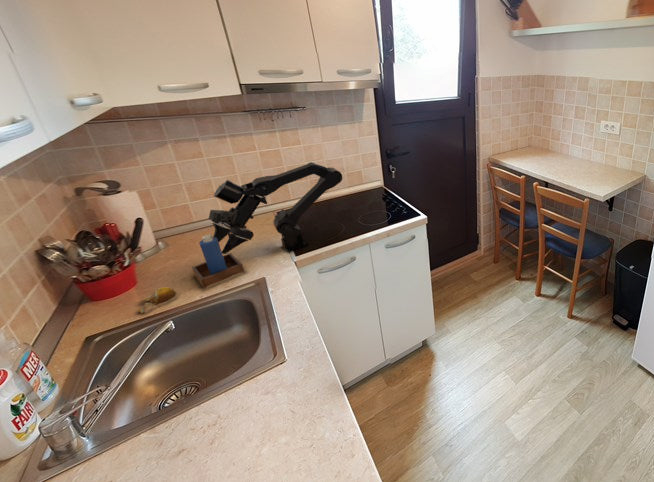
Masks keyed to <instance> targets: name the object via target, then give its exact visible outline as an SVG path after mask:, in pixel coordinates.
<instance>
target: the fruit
mask: <svg viewBox="0 0 654 482" xmlns="http://www.w3.org/2000/svg"><path fill="white" fill-rule="evenodd" d="M175 296H176V291H175V290H174V289H173V288H171V287H159V288H158V289H157V290H156V291H154V292H152V294H150V295H148V296H146V297H145V298H144V300H145V304H144V305H143V303H141V305H143V306H146V307H153V306H155V305H160V304H163V303H166V302H168V301H170V300H171V299H173V298H174V297H175ZM144 308H145V307H142V309H139V313H141V314H142V313H145V312H146V310H145V309H144Z"/></svg>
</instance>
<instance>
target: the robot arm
mask: <svg viewBox="0 0 654 482" xmlns="http://www.w3.org/2000/svg"><path fill="white" fill-rule="evenodd" d="M312 175H315V176H318V177H319V178H318V180H317V182H316V183H315V184H314V185H313V187H311V188H310V190H308V191H307V192H306V193H305V194H304V195H303V196H302V197H301V198H300V199H299V200H298V201H297V202H296V203H295V204H293V206H292V207H291V208H289V209H287V210H285V209H284V208H282V209H281V210H280V211H279V212H278V213H277V214H276V215H274V219H273V221H272V225H273V227H274V229H275V230H276V232H277V233H278V234H280V235H281V238H280V241H281V245H282V248H283V249H285V250H286V251H288V252H293V251H295V250H297V249H300V248H302V247H305V246H306V243H305V242H304V239H303V234H302V230H301V228H300V226H299V225H298V222H299V220H300V218H301V217H302V215H304V213H306V212H307V210H308V209H309V208H310V207H312V205H313V204H314V203H315V202H316V201H317V200H319V198H320V197H321V196H322V195H324V194H325V193H326V192H327V191H328V190H331V189H333V188H335V187H336V186H337V185H339V184H340V183H342V181H343V174H342V172H341V171H339V170H337V169H336V168H334V167H326V166H324V165H320V164H317V163H315V162H312V161H311V162H308V163H306V164H303V165H301V166H298V167H295V168H292V169H289V170H287V171H284V172H281V173H278V174H275V175H266V176H265V175H264V176H260V177H256V178H254V179H253V180H252V181H251V182H248V183H245V184H242V185H239V184H237V183H235V182H233V181H232V180H229V179H226V180H225V181H224V182H222V184H221V185H219V186H218V187H217V188H216V190H215V192H214V193H213V197H214V198H217V199H218V200H221V201H224V202H226V203H229V204H231V205H233V204H236V206H235V207H230V209H229V210H224V209H223V210H222V209H210V211H209V214H208V220H210V221H211V222H212V225H213V227H214V233H213V235H212V237H216V238H217V239H218V242H219V243H220V242H221V241H222V240H223V239H225V238H226V237H227V236H228V239H227V241H226V243H225V245H224V247H223V249H222V250H221V251H222V254H223V255H226V254H229V253H230V251H232V250H234V249H235V248H237V247H239V246H240V245H242V244H243V243H245V242H248V241H251V240H252V239H253V238H254V236H255V234H254V231H252V230H251V229H248V226H246V225H247V223H248V222H249V220H250V219H251V220H253V219H254V213H255V211H256V210H257V209H258V206H259V205H260V204H261V203H262V204H264V205H267V204H268V202H267V196H269V195H271V194H274V193H275V192H276V191H277V190H279V189H280V188H281V187H283V186H285V185H288V184H292V183H293V182H296V181H299V180H301V179H304V178H307V177H309V176H312Z"/></svg>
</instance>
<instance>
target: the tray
mask: <svg viewBox="0 0 654 482" xmlns="http://www.w3.org/2000/svg"><path fill="white" fill-rule="evenodd" d="M223 257H224V260H225V263H226V266H227V269H225V270H223V271H220V272H218V273H215V274H212V275H211V274H210V272H209V269H208V266H207V263H206V261H204V262H202V263H199V264H197V265H194V266H191V270H192V272H193V274H194V276H195V278H196V279H197V280H198V282H199V283H200V284H201V286H202V287H203V288H208V287H209V286H211V285H214V284H217V283H219V282H221V281H224V280H226V279H229V278H231V277H233V276H236V275H239V274H241V273H243V272H245V269H244V266H243V263H242V262H240V260H239V259H238V258H237V257H236V256H235V255H233V254H232V253H231V252H228V253H226V254H223Z"/></svg>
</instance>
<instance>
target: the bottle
mask: <svg viewBox="0 0 654 482" xmlns="http://www.w3.org/2000/svg"><path fill="white" fill-rule="evenodd" d="M199 247H200V249H201V252H202V255H203V257H204V260H205V261H204V262H206V263H207V266H208V269H209V272H210V274H211V275H212V274H215V273H218V272H220V271H223V270H225V269H227V266H226V263H225V260H224V257H223V256H224V254H223V253H222V251H223V250H222V248H221V246H220V242H218V239H217V238H216V237H213V235H212V234H206V235H203V236H202V237H201V240H200V241H199Z"/></svg>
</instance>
